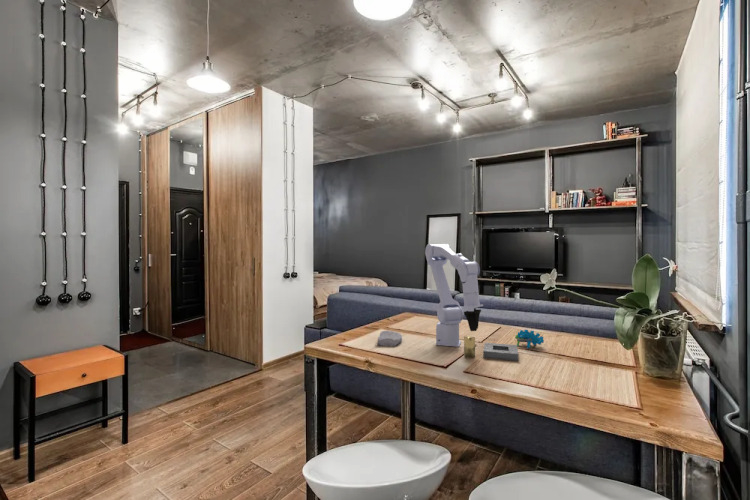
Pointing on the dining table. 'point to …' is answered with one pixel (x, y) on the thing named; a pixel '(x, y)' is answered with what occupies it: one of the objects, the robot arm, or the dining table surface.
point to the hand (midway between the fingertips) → (474, 329)
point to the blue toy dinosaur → (529, 338)
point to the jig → (500, 351)
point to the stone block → (389, 338)
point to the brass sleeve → (469, 346)
